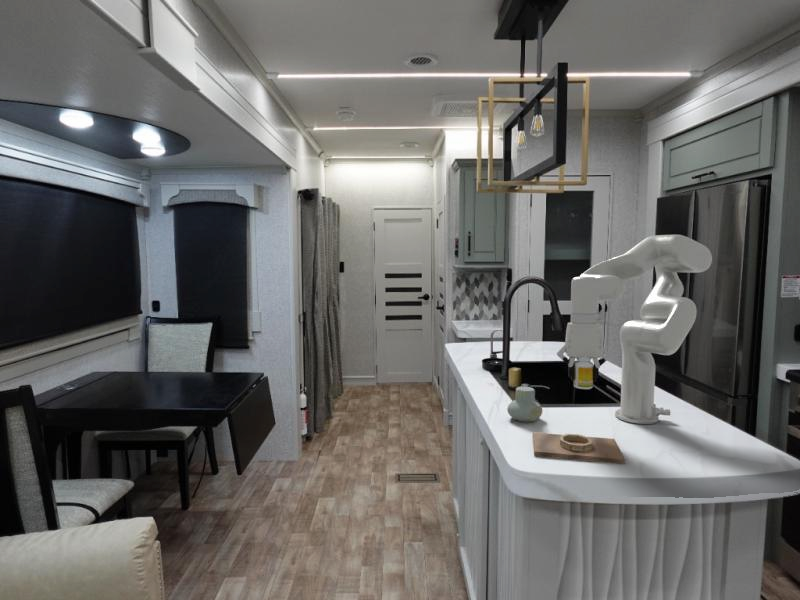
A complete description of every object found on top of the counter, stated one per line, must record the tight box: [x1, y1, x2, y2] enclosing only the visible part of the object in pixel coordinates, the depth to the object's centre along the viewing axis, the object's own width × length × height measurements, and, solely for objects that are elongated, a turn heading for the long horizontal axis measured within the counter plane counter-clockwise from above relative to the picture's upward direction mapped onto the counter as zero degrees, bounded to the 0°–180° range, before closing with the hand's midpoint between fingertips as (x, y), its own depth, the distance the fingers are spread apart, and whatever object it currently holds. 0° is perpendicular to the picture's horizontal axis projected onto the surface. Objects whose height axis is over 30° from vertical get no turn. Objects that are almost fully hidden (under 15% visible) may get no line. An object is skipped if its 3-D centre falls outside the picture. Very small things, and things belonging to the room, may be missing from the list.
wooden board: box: [532, 432, 626, 465], centre depth 131 cm, size 22×14×3 cm, turn 76°
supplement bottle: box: [572, 357, 594, 390], centre depth 142 cm, size 5×5×10 cm
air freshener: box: [506, 386, 543, 423], centre depth 155 cm, size 11×8×10 cm
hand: (583, 379), depth 142 cm, fingers closed on supplement bottle, 5 cm apart
